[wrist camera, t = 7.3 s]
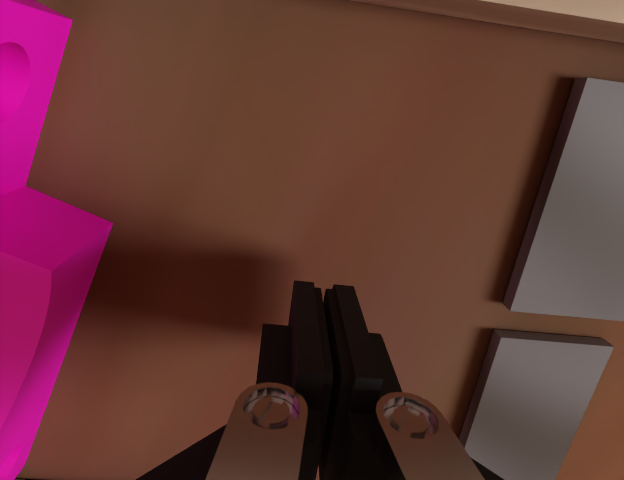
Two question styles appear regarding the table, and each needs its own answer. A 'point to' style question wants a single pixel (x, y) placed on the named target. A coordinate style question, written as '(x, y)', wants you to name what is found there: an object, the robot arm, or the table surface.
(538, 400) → the channel
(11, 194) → the toy block
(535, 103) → the table surface
